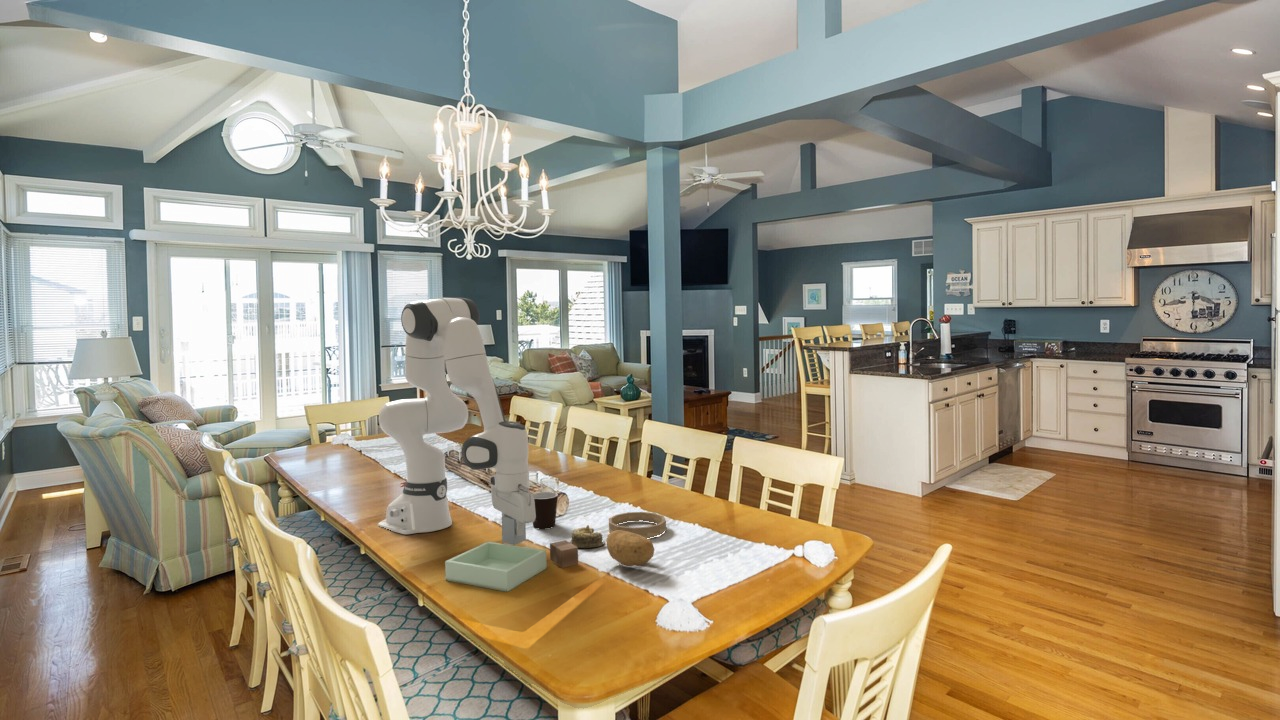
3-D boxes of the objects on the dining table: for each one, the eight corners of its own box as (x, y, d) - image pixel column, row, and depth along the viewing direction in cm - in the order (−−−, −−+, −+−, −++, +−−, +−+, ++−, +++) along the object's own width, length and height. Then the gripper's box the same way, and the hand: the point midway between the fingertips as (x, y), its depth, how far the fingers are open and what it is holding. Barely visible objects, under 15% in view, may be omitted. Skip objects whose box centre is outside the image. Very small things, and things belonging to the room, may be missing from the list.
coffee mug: (553, 533, 189) (552, 499, 188) (525, 531, 190) (524, 498, 190) (565, 521, 200) (564, 490, 200) (539, 520, 202) (538, 489, 201)
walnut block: (549, 543, 165) (561, 550, 160) (565, 540, 168) (577, 547, 162) (550, 560, 166) (562, 568, 160) (566, 557, 168) (578, 564, 162)
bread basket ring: (599, 536, 185) (598, 524, 185) (624, 520, 200) (624, 509, 200) (651, 543, 178) (651, 530, 178) (673, 526, 193) (673, 515, 193)
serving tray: (445, 580, 153) (445, 561, 153) (488, 558, 167) (488, 541, 167) (507, 591, 145) (506, 571, 145) (546, 568, 160) (546, 550, 159)
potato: (638, 577, 153) (637, 543, 153) (597, 563, 162) (597, 532, 162) (664, 565, 160) (664, 534, 160) (624, 553, 170) (624, 523, 169)
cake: (580, 552, 171) (579, 533, 171) (563, 543, 180) (562, 524, 179) (611, 545, 177) (611, 526, 177) (593, 536, 185) (593, 518, 185)
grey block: (502, 542, 174) (501, 516, 173) (513, 537, 178) (513, 512, 177) (514, 545, 171) (513, 519, 171) (525, 540, 175) (525, 515, 175)
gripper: (541, 487, 167) (542, 539, 168) (507, 473, 184) (508, 520, 184) (519, 490, 163) (519, 544, 164) (486, 476, 180) (487, 525, 180)
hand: (513, 531), depth 174 cm, fingers closed on grey block, 5 cm apart
